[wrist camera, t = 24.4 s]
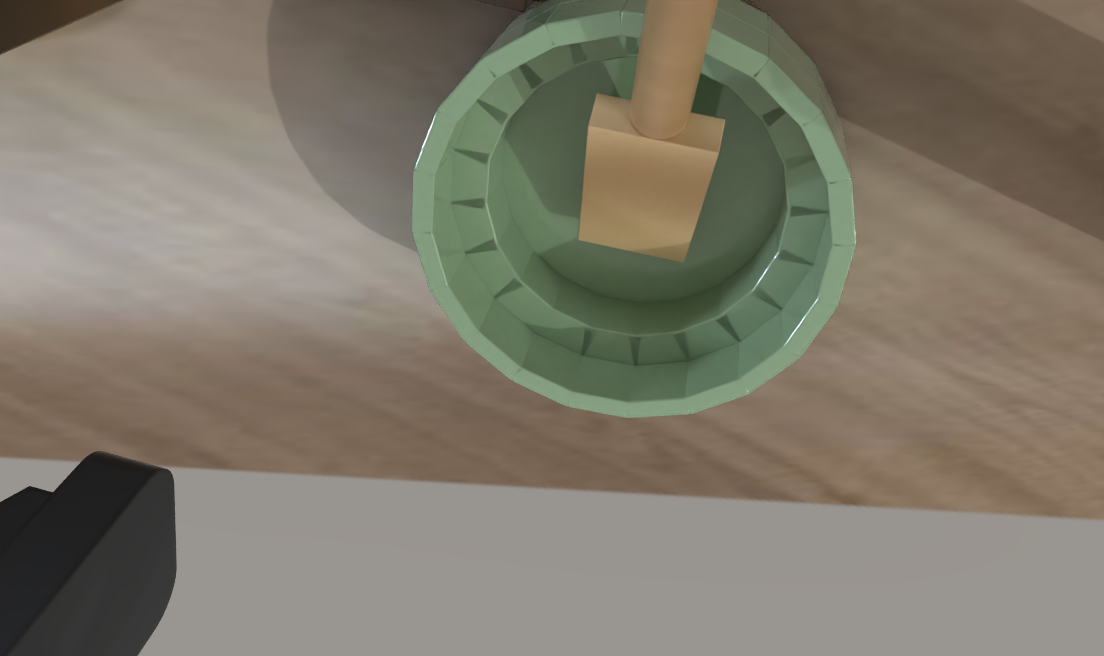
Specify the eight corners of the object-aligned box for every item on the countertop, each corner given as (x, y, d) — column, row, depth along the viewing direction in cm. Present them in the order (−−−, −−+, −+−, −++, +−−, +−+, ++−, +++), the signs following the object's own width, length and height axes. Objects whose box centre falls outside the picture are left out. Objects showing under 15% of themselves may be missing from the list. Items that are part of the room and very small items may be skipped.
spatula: (842, -238, 20) (853, -303, 20) (625, -276, 20) (644, -340, 21) (684, 263, 40) (693, 220, 41) (577, 240, 40) (588, 198, 41)
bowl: (383, 89, 40) (329, 143, 35) (738, -111, 34) (735, -82, 29) (570, 383, 46) (547, 464, 41) (903, 257, 40) (923, 334, 35)
